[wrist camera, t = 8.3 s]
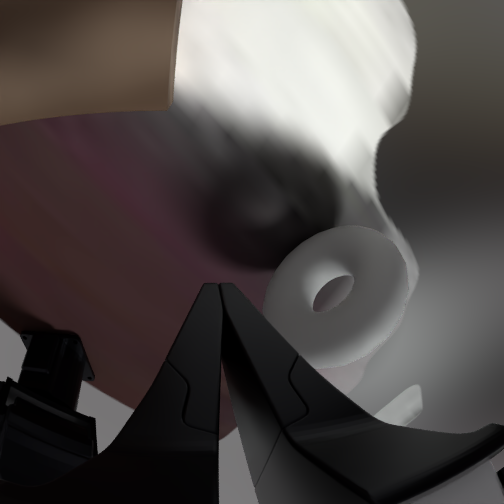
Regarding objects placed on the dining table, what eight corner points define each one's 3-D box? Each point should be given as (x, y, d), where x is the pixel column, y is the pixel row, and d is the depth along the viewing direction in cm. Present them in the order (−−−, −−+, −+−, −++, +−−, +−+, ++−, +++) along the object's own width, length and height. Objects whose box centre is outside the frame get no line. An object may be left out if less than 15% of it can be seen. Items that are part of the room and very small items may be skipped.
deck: (172, 101, 17) (167, 110, 13) (-23, 122, 14) (-57, 138, 11) (195, -77, 10) (196, -105, 7) (-10, -37, 8) (-41, -46, 4)
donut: (268, 299, 26) (301, 405, 18) (241, 274, 24) (269, 387, 16) (371, 225, 24) (445, 312, 15) (352, 193, 22) (434, 278, 14)
